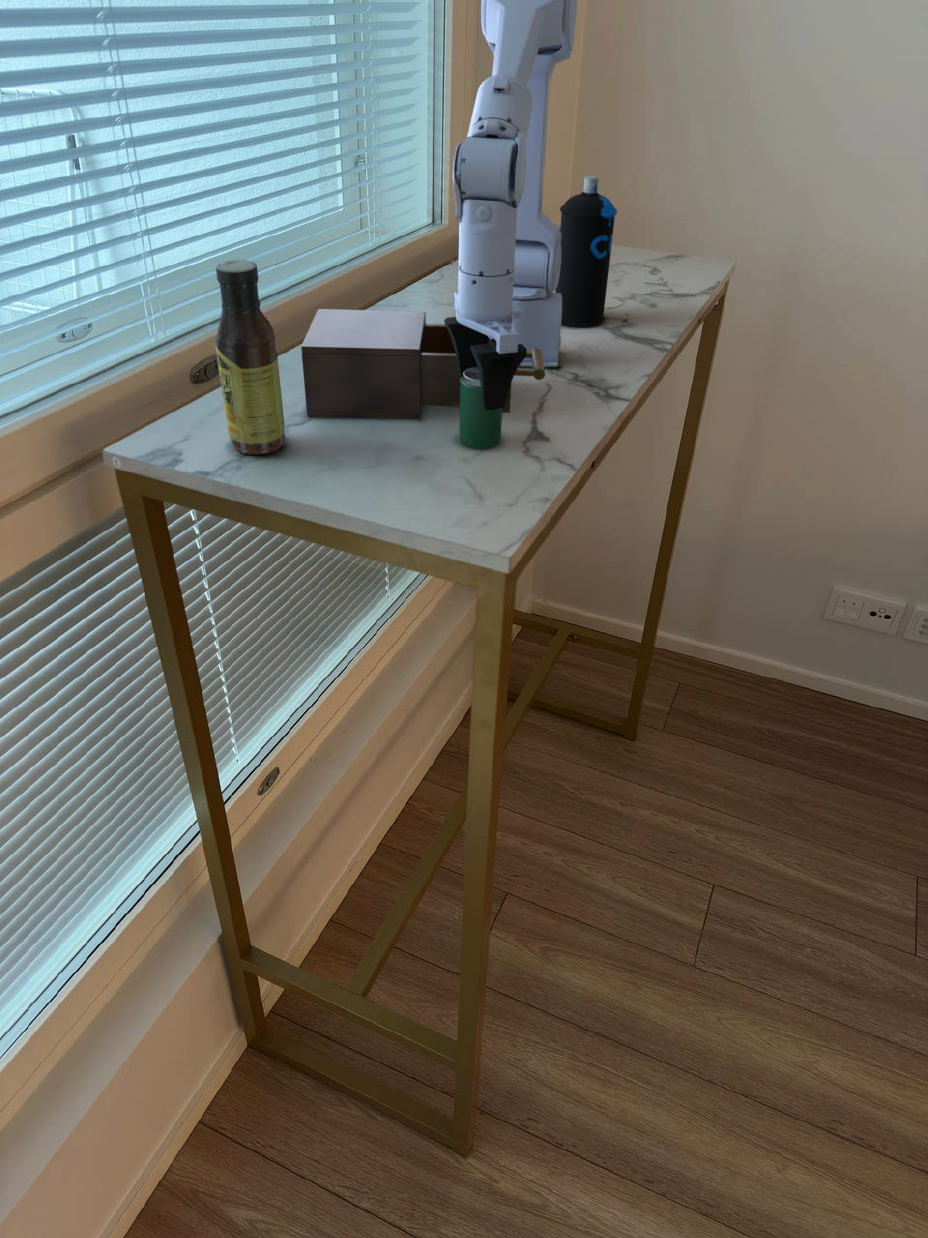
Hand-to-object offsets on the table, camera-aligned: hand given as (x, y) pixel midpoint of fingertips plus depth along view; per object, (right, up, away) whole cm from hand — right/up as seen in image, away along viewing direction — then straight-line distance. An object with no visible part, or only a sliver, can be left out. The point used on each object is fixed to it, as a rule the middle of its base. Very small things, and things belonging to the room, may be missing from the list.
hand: (482, 394), depth 101 cm
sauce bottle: (-25, -6, +1) cm, 26 cm away
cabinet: (-14, +3, +13) cm, 19 cm away
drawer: (-1, +3, +12) cm, 13 cm away
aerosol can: (+16, +21, +39) cm, 47 cm away
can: (0, -4, +3) cm, 6 cm away
